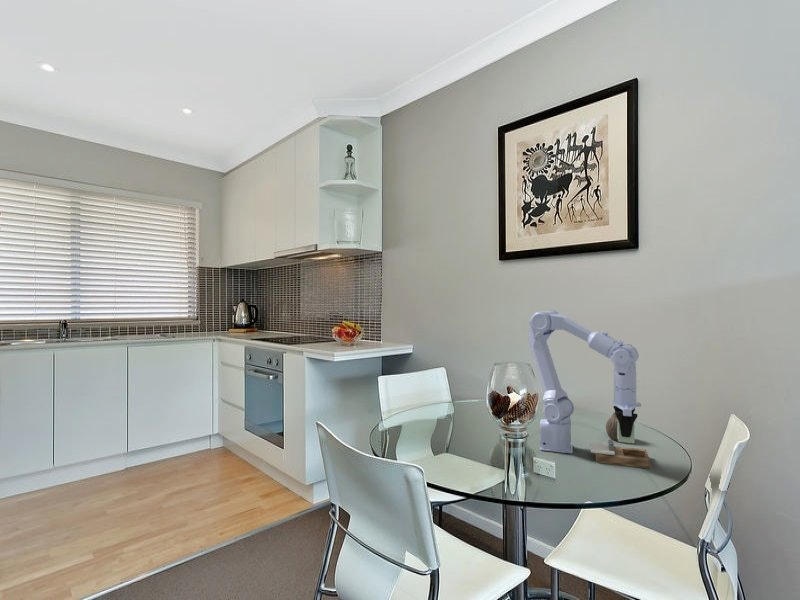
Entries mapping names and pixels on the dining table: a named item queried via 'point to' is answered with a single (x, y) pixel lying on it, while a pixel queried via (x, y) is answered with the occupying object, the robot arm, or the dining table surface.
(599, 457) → the wooden tray
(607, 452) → the cover
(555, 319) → the robot arm
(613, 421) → the vase
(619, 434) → the block
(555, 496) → the dining table surface
